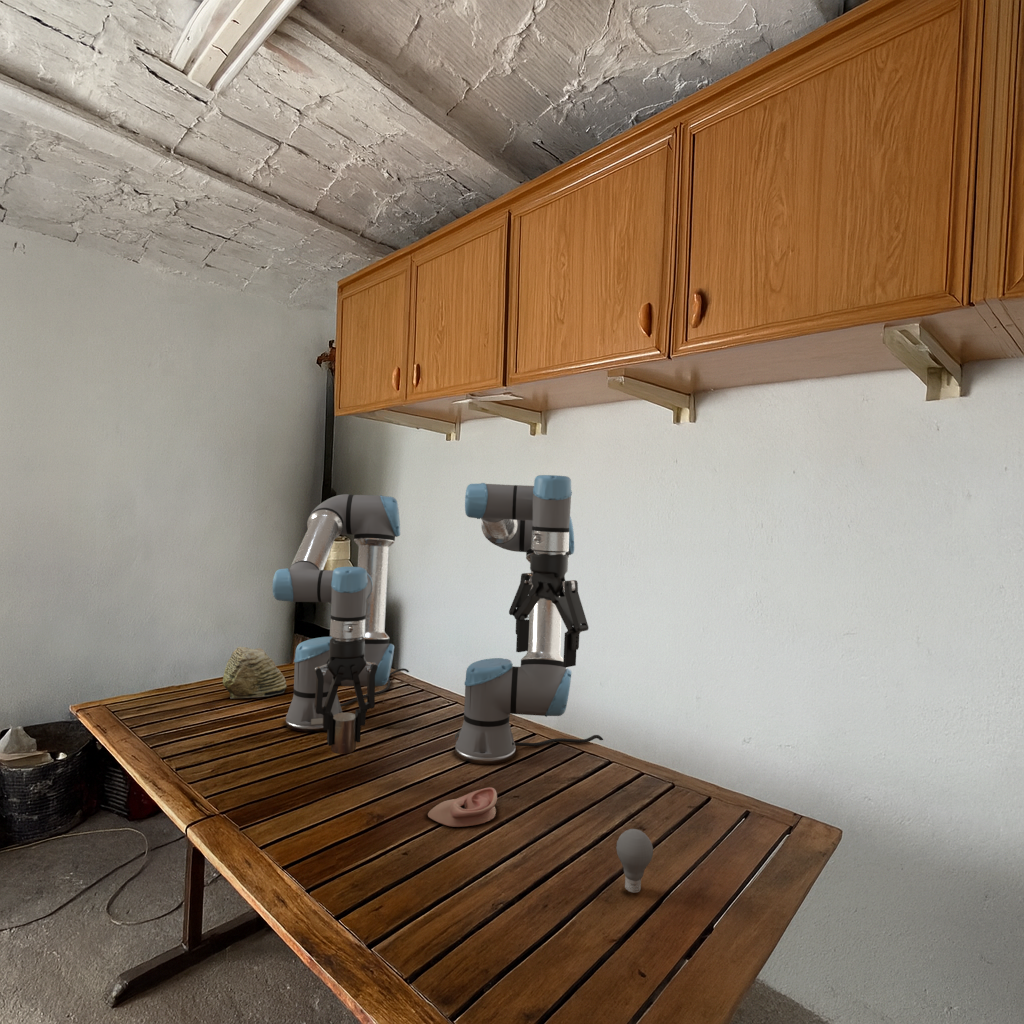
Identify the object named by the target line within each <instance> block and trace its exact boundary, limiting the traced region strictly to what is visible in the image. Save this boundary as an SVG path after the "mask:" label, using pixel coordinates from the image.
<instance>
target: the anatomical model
mask: <svg viewBox="0 0 1024 1024" xmlns="http://www.w3.org/2000/svg"><path fill="white" fill-rule="evenodd" d="M497 800H498V793H497V790H496V789H495V788H494V787H485V788H480V789H477V790H473V791H472V792H469V793H467V794H465V795H463V796H460V797H458V798H454V799H447V800H444V801H442V802H440V803H438V804H437V805H435V806H434V807H432V808H431V809H430V810H429V811H428V813H427V816H428V818H429V819H430V820H432V821H435V822H437V823H439V824H441V825H443V826H447V827H450V828H453V827H454V828H460V827H462V828H463V827H471V826H476V825H482V824H485V823H487V822H489V821H491V820H493V819H494V818H495V817H496V814H497V809H496V804H497Z"/></svg>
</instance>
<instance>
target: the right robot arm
mask: <svg viewBox="0 0 1024 1024" xmlns="http://www.w3.org/2000/svg"><path fill="white" fill-rule="evenodd" d="M572 494H573V491H572V479H571V478H570V477H569V476H567V475H556V474H537V476H535V478H534V481H533V485H523V484H519V485H518V484H496V483H485V482H481V483H469V484H468V485H467V486H466V489H465V495H464V511H465V515H466V517H467V518H470V519H471V518H472V519H477V520H480V519H481V531H482V533H483V536H484V537H485V539H486V540H487V541H489V542H490V543H491V544H492V545H494V546H497V547H499V548H501V549H504V550H507V551H510V552H517V553H525V559H526V560H527V561H528V562H529V570H530V572H523V573H521V574H520V581H519V586H518V588H517V590H516V592H515V596H514V597H513V600H512V603H511V605H510V608H509V609H508V614H509V615H510V616H513V617H514V619H515V635H516V642H515V643H516V645H515V646H516V647H515V652H516V653H525V652H526V654H525V655H524V656H523V657H522V658H521V659H520V666H514V665H513V662H512V660H511V659H508V658H502V657H493V658H491V657H490V658H484V659H480V660H477V661H474V662H472V663H471V664H469V665H468V667H466V671H465V680H464V703H463V705H464V706H463V707H464V708H463V722H462V725H461V728H460V729H459V730H458V731H457V732H456V733H455V734H454V740H456V741H455V746H454V747H455V748H454V753H455V755H456V756H457V757H458V758H459V759H461V760H463V761H465V762H467V763H472V764H476V765H497V764H498V765H499V764H502V763H506V762H508V761H511V760H512V759H513V758H514V757H515V756H516V747H541V746H545V745H548V744H549V745H550V744H552V743H573V744H585V743H590V742H591V741H593V740H595V739H598V740H599V741H604V738H603V737H602V736H601V735H600V734H594V735H591V736H590V737H587V738H582V739H579V738H578V739H577V738H566V737H565V738H564V737H561V738H560V737H559V738H551V739H547V740H543V741H539V742H523V741H522V742H520V741H519V742H516V741H515V740H514V736H513V732H512V728H511V724H510V719H511V718H510V716H511V715H522V716H523V715H524V716H525V715H526V716H539V717H546V718H547V717H561V716H563V715H564V714H565V712H566V710H567V705H568V700H569V695H570V690H571V682H572V681H571V680H572V674H573V673H572V670H571V669H570V667H576V666H577V651H578V650H579V648H580V634H581V633H582V632H587V631H589V624H588V621H587V617H586V614H585V610H584V607H583V604H582V600H581V597H580V594H579V585H578V580H576V579H573V580H572V579H571V580H566V573H568V571H569V560H570V556H571V555H573V554H575V533H574V524H573V519H572V517H571V505H572ZM562 622H563V624H564V626H565V628H566V629H567V631H565V632H564V639H563V657H562V655H561V649H562V646H561V645H562Z"/></svg>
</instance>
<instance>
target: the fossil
mask: <svg viewBox="0 0 1024 1024" xmlns="http://www.w3.org/2000/svg"><path fill="white" fill-rule="evenodd" d="M222 676H223V677H222V685H223V687H224V688H225V690H226V691H228V693H229V698H230V699H250V698H264V697H271V696H275V695H281V694H284V693H285V691H286V689H287V687H288V686H287V680H286V678H285V676H284V674H283V673H282V672H281V669H279V668H278V667H277V665H276V663H275V662H274V660H273V659H272V658H271V657H270V656H269V655H268V654H267V653H266V652H265V650H264V649H263V648H260V647H258V648H251V647H247V646H246V647H245V646H238V647H237V648H236V649H235V650H233V651H232V653H231V656H230V657H229V659H228V660H227V663H226V666H225V668H224V671H223V675H222Z"/></svg>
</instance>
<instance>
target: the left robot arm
mask: <svg viewBox="0 0 1024 1024" xmlns="http://www.w3.org/2000/svg"><path fill="white" fill-rule="evenodd" d="M306 527H307V530H306V532H305V534H304V536H303V538H302V540H301V542H300V545H299V547H298V550H297V552H296V553H295V556H294V558H293V560H292V563H291V564H290V567H289V568H288V567H287V568H279V569H277V570H276V571H275V572H274V575H273V579H272V595H273V597H274V599H275V600H276V601H279V602H290V603H330V605H331V606H330V609H331V610H330V624H329V625H330V626H329V627H330V628H329V629H330V630H329V636H321V637H315V638H310V639H307V640H304V641H302V642H300V643H298V645H296V648H295V654H294V660H293V662H294V672H293V673H294V674H293V695H292V696H293V697H292V699H291V702H290V704H289V708H288V711H287V713H286V715H285V726H286V728H287V729H289V730H291V731H294V732H295V731H296V732H301V733H316V732H325V731H326V742H327V745H328V747H331V746H332V742H333V716H334V715H335V714H338V713H344V712H343V709H342V707H344V706H347V705H350V704H352V703H354V702H356V701H357V705H358V708H356V709H355V713H354V714H356V715H357V728H356V743H361V736H362V735H361V733H362V726H363V727H364V726H365V725H366V721H367V720H366V719H367V713H368V711H369V710H370V709H374V708H375V706H376V695H380V694H383V693H385V692H387V691H388V690H389V689H390V686H391V679H390V676H392V675H394V674H396V673H398V672H401V671H402V672H403V671H404V672H406V673H410V670H409V669H407V668H404V667H401V668H398V669H396V670H393V671H391V669H392V665H393V659H394V653H395V652H394V651H395V645H394V644H393V643H390V636H389V635H388V634H387V633H386V631H385V628H386V613H387V612H386V609H387V593H388V577H389V575H388V573H389V557H390V556H389V554H390V548H391V547H392V546H393V545H394V544H395V542H396V538H398V537H400V536H401V521H400V512H399V504H398V500H397V499H396V498H395V497H394V496H387V495H382V494H380V495H377V494H376V495H375V494H349V493H348V494H347V493H344V494H338V495H335V496H332V497H330V498H327V499H326V500H324V501H322V502H321V503H320V504H318V505H317V506H316V507H314V509H313V510H311V513H310V514H309V517H308V518H307V522H306ZM340 535H353V541H354V543H355V544H356V545H357V547H358V553H357V555H358V556H357V566H340V567H339V566H338V567H335V568H334V569H332V570H331V569H330V570H327V569H325V567H326V564H327V560H328V558H329V555H330V553H331V551H332V547H333V545H334V542H335V539H338V537H339V536H340ZM386 684H387V685H386ZM385 685H386V687H385V688H384V689H382V690H378V691H376V687H383V686H385ZM339 687H353V688H354V693H355V698H353V699H351V700H348V701H346V702H343V703H341V702H340V699H339V695H338V690H339ZM362 687H366V694H363V693H364V692H363V690H362ZM365 698H366V701H365Z"/></svg>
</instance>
